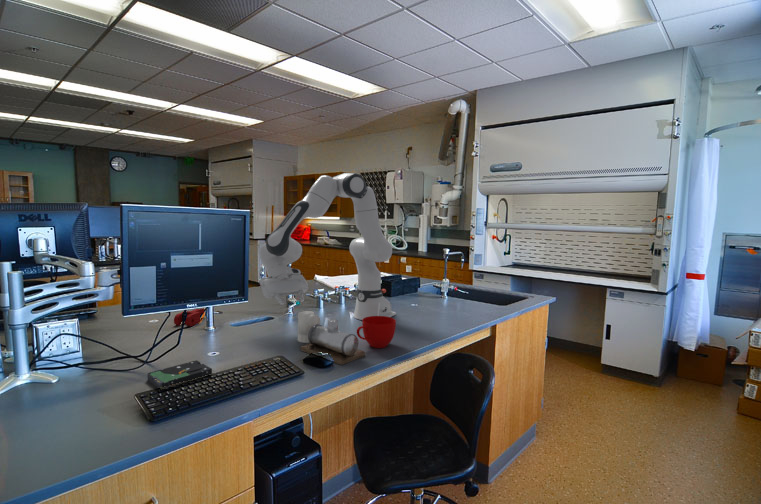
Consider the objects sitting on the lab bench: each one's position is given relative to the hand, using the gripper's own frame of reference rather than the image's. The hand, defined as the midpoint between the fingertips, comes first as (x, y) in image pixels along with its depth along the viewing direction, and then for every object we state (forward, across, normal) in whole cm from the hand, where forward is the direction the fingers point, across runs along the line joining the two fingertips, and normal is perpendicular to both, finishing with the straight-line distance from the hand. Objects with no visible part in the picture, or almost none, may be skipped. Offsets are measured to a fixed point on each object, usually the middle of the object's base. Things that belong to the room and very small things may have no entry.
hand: (292, 302), depth 162 cm
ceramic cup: (+33, +16, -13) cm, 38 cm away
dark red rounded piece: (-22, -23, +42) cm, 52 cm away
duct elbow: (+17, 0, +2) cm, 17 cm away
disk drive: (+20, -49, 0) cm, 53 cm away
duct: (+29, -1, -10) cm, 31 cm away
